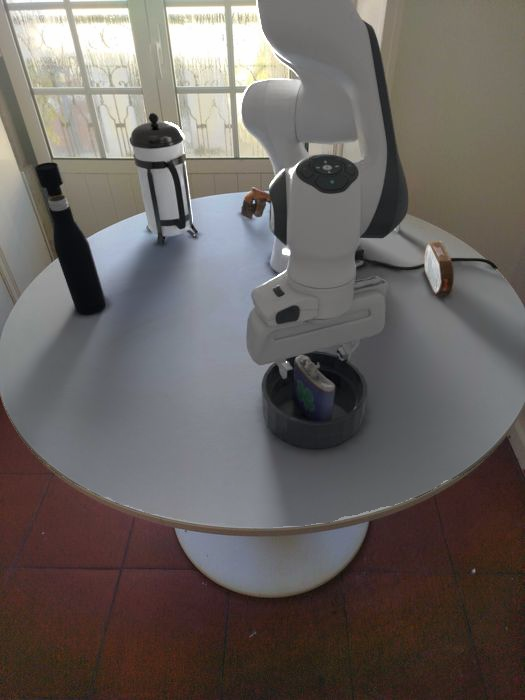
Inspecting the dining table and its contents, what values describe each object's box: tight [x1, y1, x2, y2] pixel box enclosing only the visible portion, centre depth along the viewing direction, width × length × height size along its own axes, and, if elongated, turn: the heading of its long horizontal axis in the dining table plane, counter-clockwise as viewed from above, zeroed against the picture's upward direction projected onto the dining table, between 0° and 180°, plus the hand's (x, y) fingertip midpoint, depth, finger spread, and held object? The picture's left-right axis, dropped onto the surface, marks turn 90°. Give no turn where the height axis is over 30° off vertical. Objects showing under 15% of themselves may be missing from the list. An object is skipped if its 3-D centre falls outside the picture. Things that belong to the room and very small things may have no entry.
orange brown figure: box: [240, 186, 270, 220], centre depth 133 cm, size 12×10×8 cm
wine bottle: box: [34, 162, 107, 316], centre depth 92 cm, size 6×6×30 cm
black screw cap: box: [261, 350, 368, 449], centre depth 75 cm, size 16×16×6 cm
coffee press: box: [129, 112, 199, 245], centre depth 117 cm, size 17×16×30 cm
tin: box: [423, 239, 455, 296], centre depth 102 cm, size 15×3×8 cm, turn 178°
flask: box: [293, 355, 336, 422], centre depth 72 cm, size 9×3×11 cm, turn 29°
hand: (315, 367), depth 70 cm, fingers open, 8 cm apart
